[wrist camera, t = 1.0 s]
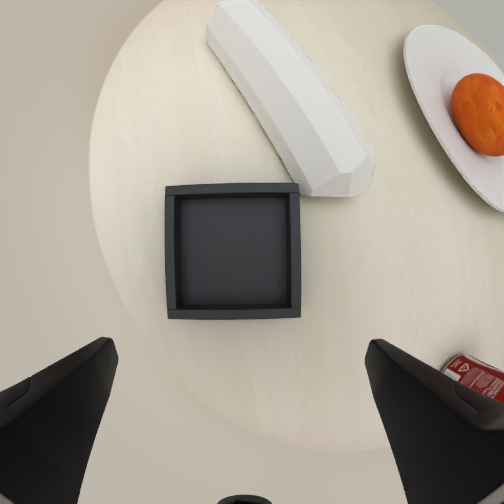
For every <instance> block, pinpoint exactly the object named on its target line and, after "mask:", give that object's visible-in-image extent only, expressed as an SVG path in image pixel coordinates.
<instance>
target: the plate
mask: <svg viewBox="0 0 504 504" xmlns="http://www.w3.org/2000/svg"><path fill="white" fill-rule="evenodd" d="M403 55H404V62H405V67H406V71H407V75H408V78H409V81H410V84H411V87H412V89H413V92H414V94H415V96H416V99H417V101H418V103H419V105H420V107H421V110H422V112H423V114H424V116H425V118H426V119H427V121H428V123H429V125H430V127H431V129H432V131H433V132H434V134H435V136H436V138H437V139H438V141H439V143H440V144H441V146H442V148H443V149H444V151H445V152H446V154H447V155H448V157H449V158H450V160H451V161H452V163H453V164H454V166H455V167H456V168H457V170H458V171H459V172H460V174H461V175H462V176H463V178H464V179H465V180H466V182H467V183H468V184H469V185H470V186H471V187H472V189H473V190H474V191H475V192H476V193H477V194H478V195H479V196H480V197H481V198H482V199H483V200H484V201H486V202H487V203H488V204H489V205H491V206H492V207H493V208H495V209H497V210H498V211H501V212H503V213H504V74H503V73H502V72H501V70H500V69H499V68H498V67H497V66H496V65H495V63H494V62H493V61H492V60H491V59H490V58H489V57H488V56H487V55H486V54H485V53H484V52H483V51H482V50H481V49H479V48H478V47H477V46H476V45H475V44H473V43H472V42H471V41H469V40H468V39H466V38H465V37H463V36H462V35H460V34H458V33H456V32H454V31H452V30H450V29H447V28H445V27H442V26H438V25H431V24H426V25H420V26H417V27H415V28H413V29H412V30H411V31H410V32H409V33H408V34H407V36H406V38H405V41H404V47H403Z"/></svg>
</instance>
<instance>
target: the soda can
mask: <svg viewBox="0 0 504 504" xmlns="http://www.w3.org/2000/svg"><path fill="white" fill-rule="evenodd" d="M441 373H443V374H445V375H447V376H449V377H450V378H452V379H453V380H456V381H458V382H459V383H461V384H463V385H465V386H467V387H469V388H471V389H473V390H475V391H477V392H479V393H481V394H483V395H486V396H488V397H490V398H493V399H495V400H497V401H500V402H502V403H504V372H503V371H501V370H499V369H497V368H495V367H493V366H490V365H488V364H486V363H484V362H482V361H480V360H478V359H475V358H473V357H471V356H469V355H466V354H461V355H459V356H457V357H455V358H453V359H452V360H451V361H450V362H449V363H448V364H447V365H446V367H445V368H444V369H443V371H442V372H441Z"/></svg>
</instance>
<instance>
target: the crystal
mask: <svg viewBox="0 0 504 504" xmlns="http://www.w3.org/2000/svg"><path fill="white" fill-rule="evenodd" d="M206 29H207V43H208V45H209V46H210V47H211V49H212V50H213V52H214V53H215V54H216V56H217V57H218V59H219V60H220V62H221V63H222V65H223V66H224V68H225V69H226V70H227V72H228V73H229V75H230V76H231V78H232V79H233V81H234V82H235V84H236V86H237V87H238V89H239V90H240V92H241V93H242V95H243V96H244V98H245V99H246V101H247V103H248V104H249V106H250V107H251V109H252V111H253V112H254V114H255V115H256V117H257V119H258V120H259V122H260V124H261V125H262V127H263V129H264V130H265V132H266V134H267V135H268V137H269V139H270V140H271V142H272V144H273V145H274V147H275V149H276V151H277V152H278V154H279V156H280V158H281V159H282V161H283V163H284V165H285V166H286V168H287V170H288V172H289V174H290V175H291V177H292V179H293V181H294V183H298V184H299V192H300V194H301V196H327V197H358V196H359V195H360V194H361V193H362V192H363V191H364V190H366V189H367V188H368V187H369V185H370V181H371V178H372V174H373V171H374V167H375V163H376V156H375V154H374V152H373V150H372V149H371V147H370V145H369V144H368V142H367V140H366V138H365V137H364V135H363V133H362V132H361V130H360V128H359V127H358V125H357V124H356V122H355V120H354V119H353V117H352V116H351V114H350V113H349V111H348V110H347V108H346V107H345V105H344V104H343V102H342V101H341V99H340V98H339V96H338V95H337V93H336V92H335V91H334V89H333V88H332V86H331V85H330V84H329V82H328V81H327V80H326V78H325V77H324V76H323V74H322V73H321V72H320V70H319V69H318V68H317V66H316V65H315V64H314V63H313V61H312V60H311V59H310V58H309V56H308V55H307V54H306V53H305V52H304V50H303V49H302V48H301V47H300V46H299V44H298V43H297V42H296V41H295V40H294V39H293V38H292V36H291V35H290V34H289V33H288V32H287V31H286V30H285V29H284V28H283V26H282V25H281V24H280V23H279V22H278V21H277V20H276V19H275V18H274V17H273V16H272V15H271V14H270V13H269V12H268V11H267V10H266V9H265V8H264V7H263V6H262V5H261V4H260V3H259V2H258V1H257V0H223V1H221V2H220V3H218V5H217V7H216V9H215V10H214V12H213V14H212V16H211V17H210V19H209V21H208V23H207V25H206Z"/></svg>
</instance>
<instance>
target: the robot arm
mask: <svg viewBox="0 0 504 504" xmlns="http://www.w3.org/2000/svg"><path fill="white" fill-rule="evenodd" d="M117 364H118V354H117V351H116V348H115V345H114V342H113V340H112V339H111V338H107V337H100V338H99V339H97V340H95V341H93V342H91V343H90V344H88V345H86V346H84V347H82V348H81V349H79V350H77V351H75V352H73V353H72V354H70V355H68V356H66V357H65V358H63V359H61V360H59V361H57V362H55V363H54V364H52V365H50V366H48V367H46V368H45V369H43V370H41V371H40V372H38V373H36V374H34V375H32V376H31V377H28V378H27V379H25V380H23V381H21V382H19V383H18V384H16V385H14V386H12V387H9V388H8V389H5V390H3V391H1V392H0V504H77V502H78V498H79V494H80V489H81V485H82V481H83V478H84V474H85V470H86V467H87V463H88V460H89V456H90V453H91V450H92V446H93V443H94V440H95V437H96V434H97V430H98V428H99V425H100V422H101V419H102V416H103V413H104V410H105V407H106V405H107V402H108V398H109V396H110V392H111V388H112V384H113V380H114V376H115V372H116V368H117ZM365 366H366V369H367V373H368V377H369V381H370V385H371V389H372V393H373V397H374V400H375V403H376V406H377V408H378V411H379V414H380V417H381V420H382V422H383V425H384V428H385V431H386V434H387V437H388V440H389V443H390V446H391V449H392V451H393V455H394V458H395V461H396V464H397V467H398V471H399V473H400V477H401V480H402V483H403V487H404V491H405V495H406V498H407V502H408V504H504V403H502V402H500V401H497V400H495V399H493V398H490V397H488V396H486V395H483V394H481V393H479V392H477V391H475V390H473V389H471V388H469V387H467V386H465V385H463V384H461V383H459V382H458V381H456V380H453V379H452V378H450V377H449V376H447V375H445V374H443V373H441V372H440V371H438V370H436V369H434V368H433V367H431V366H429V365H427V364H425V363H424V362H422V361H420V360H418V359H417V358H415V357H413V356H411V355H410V354H408V353H406V352H404V351H403V350H401V349H399V348H397V347H395V346H394V345H392V344H390V343H388V342H387V341H385V340H383V339H373V340H371V341H370V343H369V346H368V349H367V353H366V356H365ZM230 504H253V503H249V502H245V501H242V500H238V499H236V500H234V501H233V502H231V503H230Z"/></svg>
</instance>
